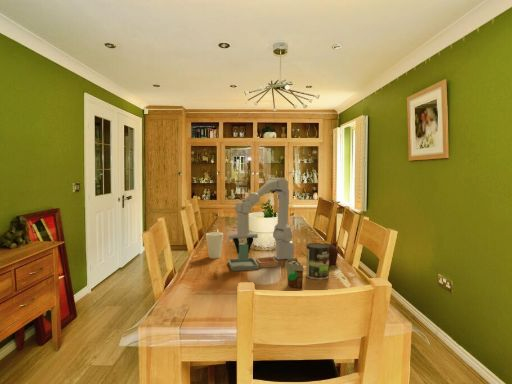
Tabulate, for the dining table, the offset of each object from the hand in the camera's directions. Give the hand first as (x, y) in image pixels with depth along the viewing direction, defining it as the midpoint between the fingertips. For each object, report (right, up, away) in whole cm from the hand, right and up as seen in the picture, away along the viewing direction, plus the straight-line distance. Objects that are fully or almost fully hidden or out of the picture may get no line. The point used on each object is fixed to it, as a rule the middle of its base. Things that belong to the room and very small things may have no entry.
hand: (243, 252), depth 168 cm
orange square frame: (+12, -7, +3) cm, 14 cm away
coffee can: (+34, -8, -15) cm, 38 cm away
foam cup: (-16, -6, +18) cm, 25 cm away
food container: (+22, -9, -27) cm, 36 cm away
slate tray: (0, -7, 0) cm, 7 cm away
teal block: (0, -3, 0) cm, 3 cm away
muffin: (+43, -7, +5) cm, 44 cm away
